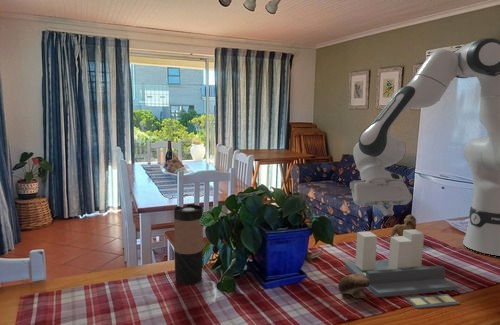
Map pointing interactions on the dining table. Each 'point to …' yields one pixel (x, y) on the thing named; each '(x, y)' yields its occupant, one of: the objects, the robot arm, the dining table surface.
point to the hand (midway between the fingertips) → (389, 215)
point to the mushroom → (354, 285)
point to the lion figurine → (404, 226)
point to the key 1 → (366, 250)
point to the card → (432, 301)
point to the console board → (403, 279)
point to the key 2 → (415, 246)
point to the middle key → (399, 252)
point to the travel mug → (188, 244)
